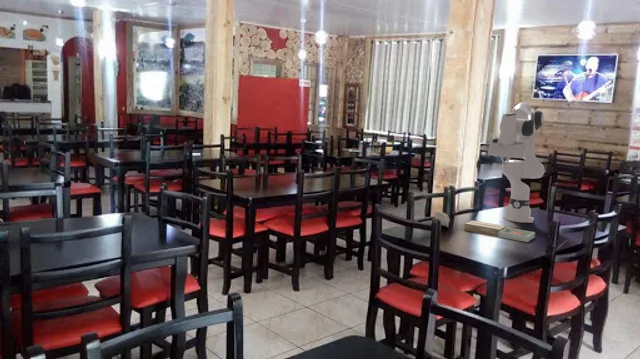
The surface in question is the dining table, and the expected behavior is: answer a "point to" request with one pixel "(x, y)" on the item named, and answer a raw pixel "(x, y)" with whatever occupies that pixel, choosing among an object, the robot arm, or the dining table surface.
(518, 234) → the tile
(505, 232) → the tray
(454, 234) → the dining table surface
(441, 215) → the cheese
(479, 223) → the board
